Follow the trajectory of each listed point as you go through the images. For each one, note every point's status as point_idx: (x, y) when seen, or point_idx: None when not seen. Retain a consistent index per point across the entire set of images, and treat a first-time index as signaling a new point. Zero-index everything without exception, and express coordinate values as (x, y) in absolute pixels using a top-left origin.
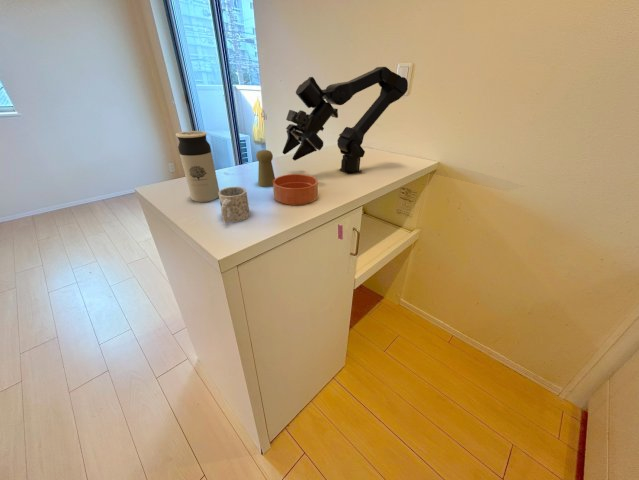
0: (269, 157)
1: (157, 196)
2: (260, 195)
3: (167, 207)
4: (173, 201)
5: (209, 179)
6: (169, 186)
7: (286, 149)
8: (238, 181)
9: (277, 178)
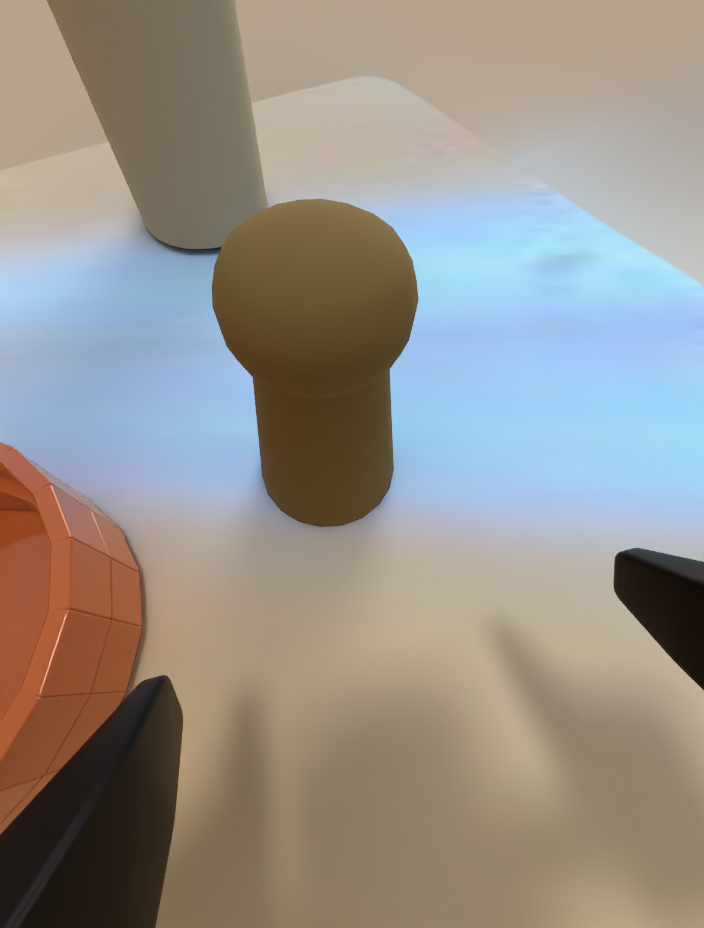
0: (225, 338)
1: (280, 111)
2: (125, 415)
3: None
4: None
5: (100, 118)
6: (383, 121)
7: (697, 620)
8: None
9: (10, 473)
